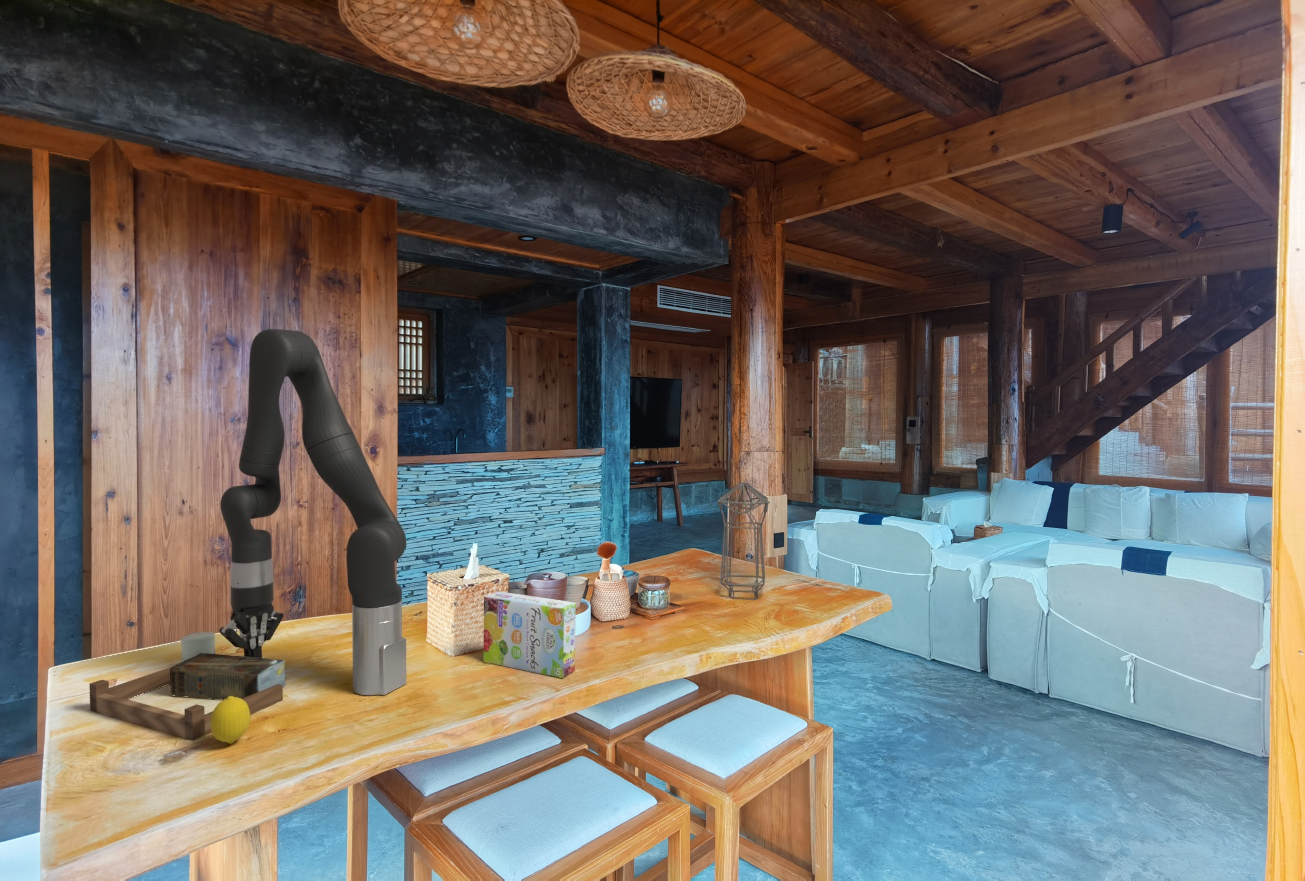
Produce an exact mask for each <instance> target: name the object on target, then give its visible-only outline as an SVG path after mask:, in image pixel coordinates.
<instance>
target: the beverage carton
mask: <svg viewBox="0 0 1305 881" xmlns="http://www.w3.org/2000/svg"><path fill="white" fill-rule="evenodd" d="M285 664H286V662H285V660H284V659H276V658H275V659H274V658H267V657H265V658H263V657H262V658H257V657H245V656H244V655H232V654H220V653H215V654H209V653H200V654H198V655H196V656H194V657H192V658H190V659H187V660H185V661H183V662H182V661H181V662H180V663H177V664H174V665H172V666H171V668H170V667H169V668H170V686H169V687H170V694H171V695H175V696H174V697H177V696H188V697H187V698H190V697H196V698H195V699H202V698H211V699H210V700H215V699H222V700H221V701H223V700H225V699H227V698H228V697H229V696H233V697H238V698H241V699H243V698H245V697H248V696H250V695H252V694H255V693H257V692H260V691H262V690H264V689H267V688H269V687H272V686H274V685H276V684H281V685H283V689H284V688H285V687H286V673H285V668H286V667H285V666H286V665H285ZM171 695H170V696H171Z"/></svg>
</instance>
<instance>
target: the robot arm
mask: <svg viewBox="0 0 1305 881" xmlns="http://www.w3.org/2000/svg"><path fill="white" fill-rule="evenodd" d="M248 363H249V364H248V365H249V366H248V369H249V370H248V393H247V394H248V399H247V400H248V401H247V402H248V403H247V405H248V406H247V420H246V427H245V433H244V438H243V441H242V447H241V452H240V456H239V461H238V469H239V471H240V472H241V473H242V474H244V475H246V476H249V477H254V478H255V481H254V483H253V484H244V485H243V484H242V485H235V486H231V487H229V488H227V489H226V490H225V491H224V493H223V494H222V496H221V499H220V502H219V503H220V504H219V505H220V506H219V507H220V512H221V515H222V518H223V521H224V524H225V528H226V530H227V533H228V537H229V540H230V542H231V546H230V547H231V549H230V550H231V553H230V554H231V566H230V572H229V573H230V577H229V579H230V580H229V581H230V582H229V583H230V606H231V609H232V611H231V612H232V613H231V614H230V617H229V618H230V621H229V622H228V623H227V624H226V626H225V627H224V626H221V627H219V630H218V633H220V635H222V636H223V637H224V638H225V639H226V640H227V641H228V642H229V643H230V644H231V645H232V646H234V647H235V648H239V649H243V656H245V657H257V658H263V646H264V643H265V642H267V641H268V642H269V641H270V640H271V639H272V637H273V636H274V635H275V633H276V630H277V629H278V627H279V625H280V624H281V622H282V620H283V618H284V616H285V615H284V613H282V612H279V611H276V610H275V608H274V605H273V602H274V600H275V599H274V598H275V597H274V566H273V559H272V557H273V556H272V553H273V552H272V549H273V548H272V535H271V533H270V532H269V531H268V530H265V529H259V528H257V529H256V528H254V526H253V524H252V521H251V520H255V519H260V518H266V517H269V516H272V515H273V514H275V513H276V511H278V509H279V507H280V504H281V502H282V493H281V492H282V490H281V480H280V479H281V478H280V469H279V468H280V464H281V459H282V455H283V451H284V446H285V439H286V437H285V435H286V434H285V427H284V426H285V425H284V421H283V418H282V414H281V408H280V396H281V395H280V394H281V391H282V390H281V389H282V386H283V384H284V381H285V378H286V377H288V379H289V380H290V382H291V384H292V386H293V388H294V390H295V391H296V393H297V396H298V398H299V402H300V405H301V409H302V411H301V412H302V416H301V438H302V443H303V446H304V450H305V451H306V453H307V455H308V457H309V459H310V461H311V464H312V465H313V467H314V469H315V471H316V473H317V474H318V476H319V477H320V479H321V480H322V481H323V482H324V483H325V484H326V485H327V486H328V488H329V489H331V491H332V492H333V493H335V495H337V496H338V498H339V499H340V500H341V501H342V502H343V503H344V505H346V508H347V509H348V510H349V513H350V514H351V517H352V518H353V521H354V523H355V525H356V528H357V529H356V530H354V531H353V532H352V533H351V535H350V536H349V539H348V540H347V545H346V557H345V558H346V574H347V576H346V577H347V578H346V579H347V586H348V592H349V593H350V596H351V604H352V605H351V606H352V608H351V609H352V610H351V611H352V612H351V613H352V614H351V615H352V618H351V619H352V622H351V623H352V625H351V626H352V627H351V628H352V632H351V633H352V637H351V638H352V690H353V692H354V693H355V694H358V695H361V696H362V695H363V696H375V695H380V696H381V695H382V696H386V695H387V694H389V693H391V692H393V691H395V690H397V689H398V688H401V687H403V686H406V685H407V638H406V637H403V589H402V586H401V585H400V584H399V583H397V581H396V565H395V563H396V561H398V560H399V559H400V558H401V557H402V556H403V555H404V553H405V551H406V548H407V537H406V532H405V530H404V528H403V527H402V525H401V524H400V522H399V520H398V518H397V516H395V514H394V512H393V510H392V509H391V507H390V506H389V504H388V503H387V501H386V498H385V497H384V495H383V494H382V492H381V490H380V488H379V485H378V482H377V481H376V479H375V477H374V474H373V472H372V470H371V468H370V465H369V463H368V461H367V460H366V457H365V455H364V452H363V451H362V447H361V446H360V443H359V442H358V440H357V437H356V435H355V434H354V433H355V432H354V431H353V429H352V427H351V426H350V423H349V422H348V420H347V418H346V417H347V416H345V413H344V411H343V408H342V407H341V404H340V402H339V400H338V398H337V396H336V393H335V391H334V389H333V387H332V386H333V385H331V382H330V379H329V376H328V373H327V370H326V367H325V364H324V361H323V358H322V356H321V353H320V350H319V348H318V346H317V344H316V343H315V341H314V339H312V338H311V337H310V336H309V334H307V333H304V332H302V331H299V330H292V329H291V330H290V329H283V328H282V329H280V328H279V329H278V328H267V329H264V330H261V331H260V332H258V333H257V334H256V335H255V336H254V338H253V339H252V342H251V345H250V350H249V360H248ZM238 631H239V634H238Z"/></svg>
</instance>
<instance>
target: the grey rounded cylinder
mask: <svg viewBox="0 0 1305 881" xmlns="http://www.w3.org/2000/svg"><path fill="white" fill-rule="evenodd" d="M180 642H181V662H183V661H185V660H187V659H190V658H192V657H194V656H196V655H198V654H200V653H209V654H216V634H215V633H214V632H212V631H200V632H199V631H198V632H194V633H189V634H187V635H185V636H182V637H181V641H180Z"/></svg>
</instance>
